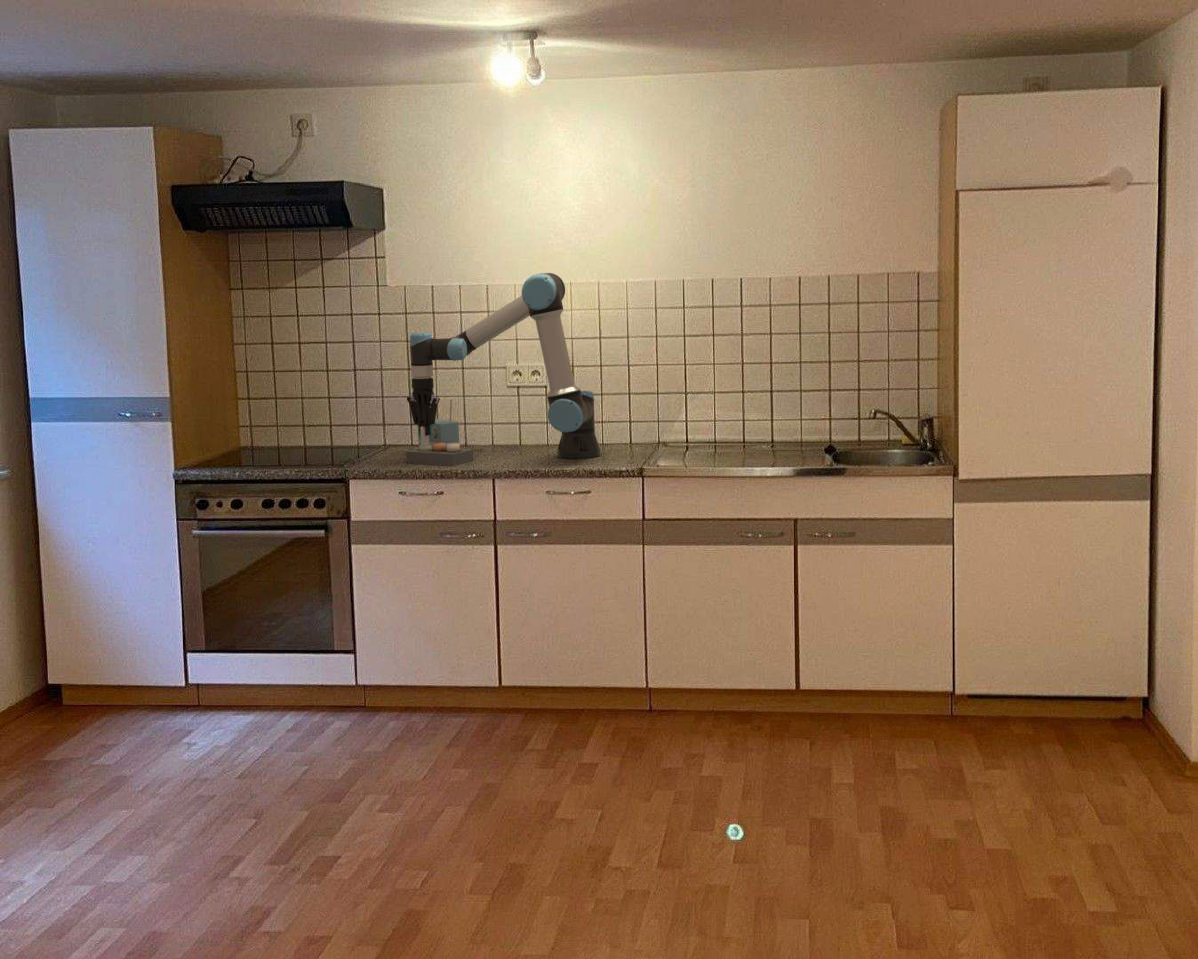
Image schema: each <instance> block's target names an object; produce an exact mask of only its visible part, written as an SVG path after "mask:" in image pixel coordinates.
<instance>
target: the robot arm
mask: <svg viewBox="0 0 1198 959" xmlns="http://www.w3.org/2000/svg"><path fill="white" fill-rule="evenodd" d="M565 295H566V285H565V283H564V281H563V280H562V278H561V277H560V276H559V275H558V274H555V273H552V272H544V273H543V272H542V273H536V274H533V275H531V276H529V277H528V278H527V279H526V280H525V281H524V283H523V285H522V287H521V295H519V296H518V297H517V298H515V299H513V300H512V301H510V302H509V303H507V304H506V305H504V306H502V307H500V308H499V309H498V310H496V311H494V312H493V313H491V314H490V315H488V316H486V317H484V318H483V319H482V320H480V321H479V322H477V323H475V324H473V325H471V326H470V327H469V328H467V329H466V330H464V331H463V332H461V333H459V334H458V335H455V336H453V337H449V338H448V337H447V338H433V336H432V334H431V332H415V333H411V335H410V336H409V353H410V375H411V388H412V392H411V395H409V396H407V397H406V401H407V403H408V405H409V409H410V413H411V416H412V421H413V422H412V423H413V424H414V425H417V427H418V426H419V435H421V445H429V435H430V426H431V425H433V424H435V419H437V418H436V417H437V411H438V405H439V402H440V401H441V399H440V397H437V396H435V393H434V378H433V376H434V372H433V370H434V369H433V361H453V362H455V361H462V360H463V361H464V360H465V359H466V357H467V356H469V355H470V354H472V352H474V351H476V350H477V349H478V348H480V347H482V346H483V345H485V344H487V343H488V342H490V341H491V340H493V339H495V338H496V337H498V336H499V335H501V334H502V333H504V332H506V331H508V330H509V329H511V328H512V327H514V326H516V325H518V324H519V323H520V322H522V321H524V320H526V319H527V318H530V319H532V320H533V321H534V322H535V325H536V330H537V334H538V340H539V343H540V344H539V345H540V349H541V353H542V354H541V355H542V358H543V362H544V367H545V371H546V377H547V381H548V382H547V383H548V386H549V391H548V393H547V394H546V398H547V402H548V409H547V419H548V422H549V424H550V426H551V427H552V428H553V429H555V430H556V431H558V432H561V435H560V440H559V443H558V448H557V452H556V453H557V457H558V458H562V459H589V458H597V457H600V455H601V446H600V445H599V441H598V438H597V436H596V429H595V425H596V424H595V398H594V393H593V391H591V390H581V388H580V387H578V386H577V385H576V384H575V379H574V374H573V370H572V366H571V359H570V357H569V356H570V355H569V350H568V347H567V346H568V345H567V341H566V337H565V332H564V326H563V323H562V318H561V315H562V313H563V311H564V306H563V299H564V298H565Z"/></svg>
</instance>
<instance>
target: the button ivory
mask: <svg viewBox="0 0 1198 959" xmlns="http://www.w3.org/2000/svg"><path fill="white" fill-rule="evenodd" d="M460 449H461V446H460V442H459V443H451V444H447V452H459V451H460Z"/></svg>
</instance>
